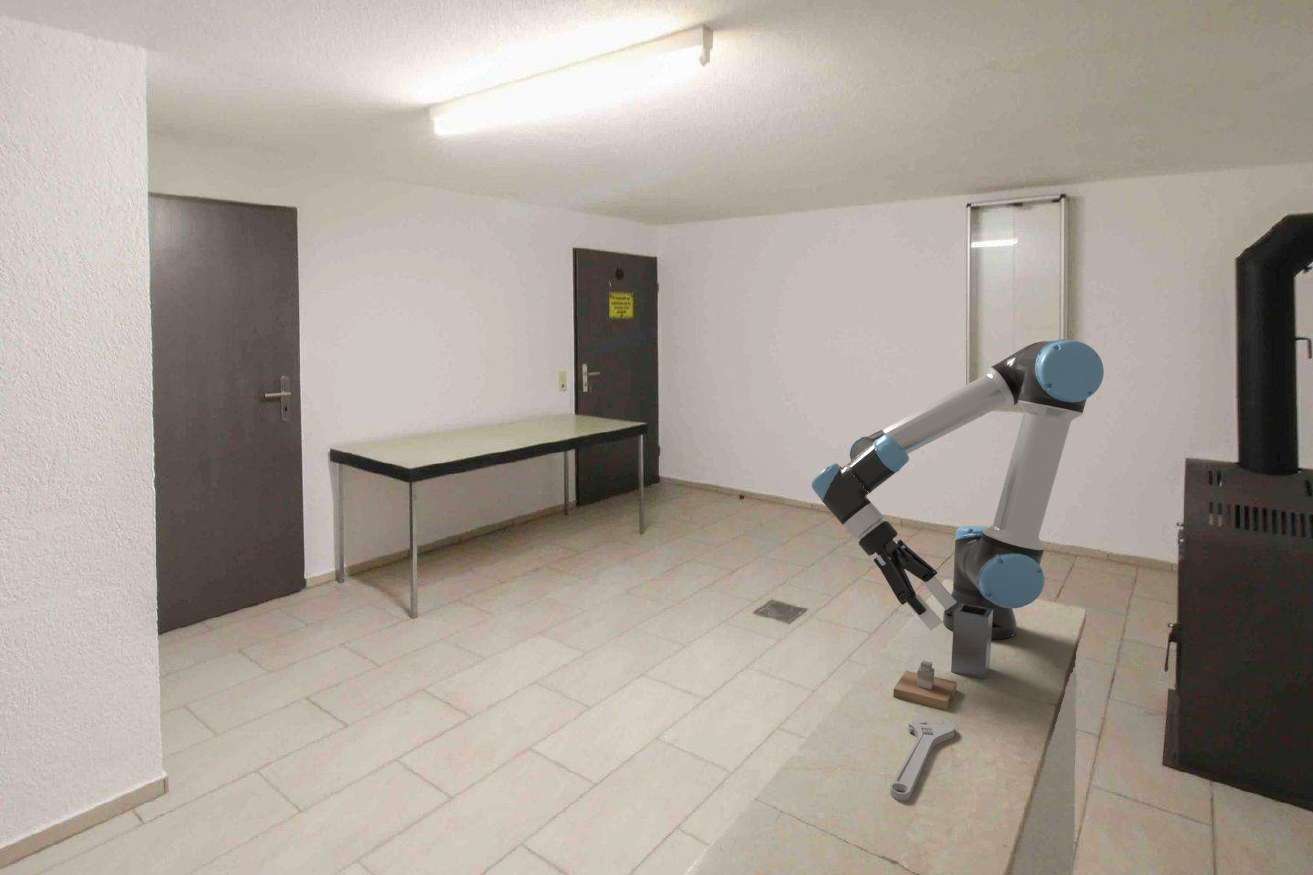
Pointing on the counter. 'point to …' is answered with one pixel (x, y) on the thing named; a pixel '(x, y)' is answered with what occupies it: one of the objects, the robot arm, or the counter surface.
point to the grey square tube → (972, 640)
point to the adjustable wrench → (919, 754)
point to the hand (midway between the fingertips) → (944, 615)
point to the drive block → (925, 687)
